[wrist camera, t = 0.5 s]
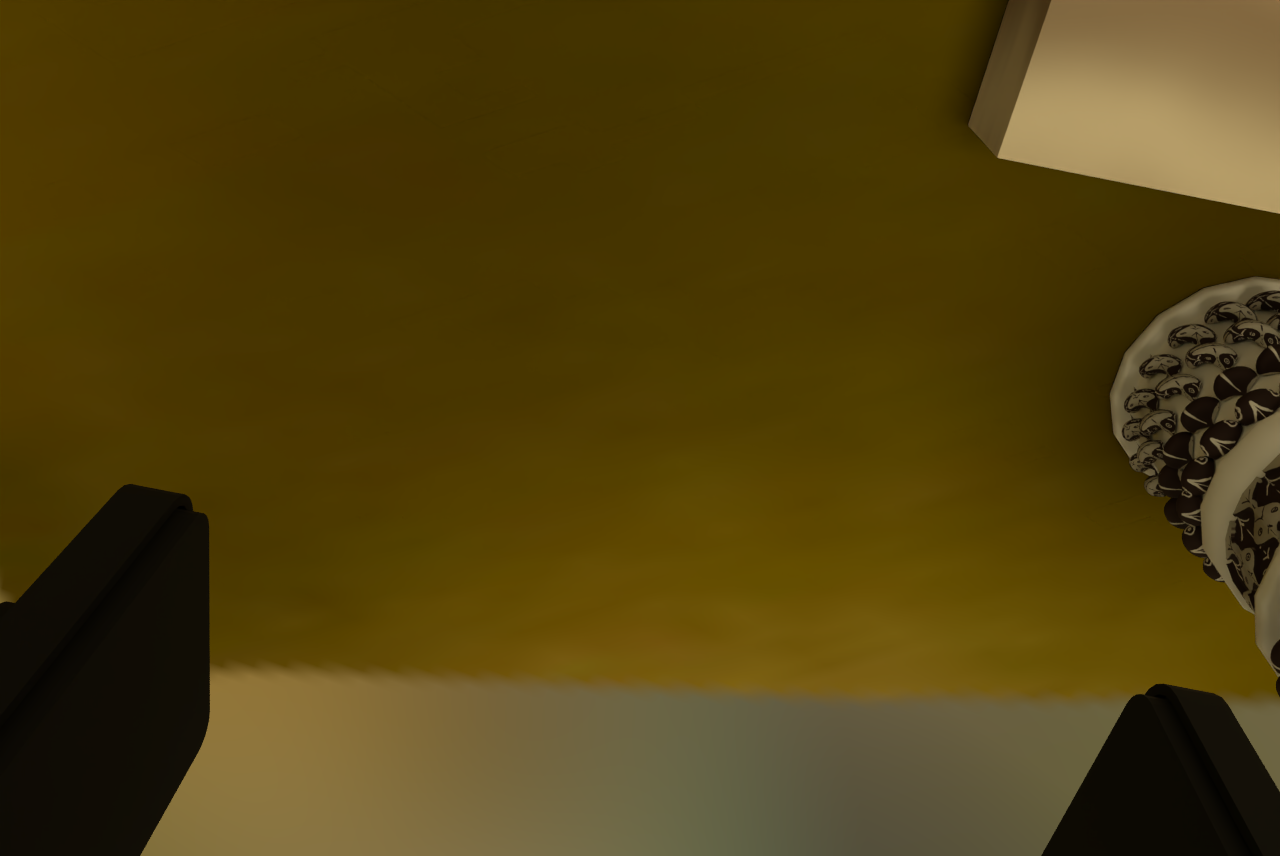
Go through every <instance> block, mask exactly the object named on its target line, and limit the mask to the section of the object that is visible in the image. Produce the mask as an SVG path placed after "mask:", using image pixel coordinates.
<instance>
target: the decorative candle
mask: <svg viewBox="0 0 1280 856" xmlns="http://www.w3.org/2000/svg"><path fill="white" fill-rule="evenodd" d="M1110 404H1111V415H1112V426H1113V434H1114V435H1115V437H1116V438H1117V440H1118V441H1119V443H1120V444H1121V446H1122V447H1123V449H1124V450H1125V452H1126V453H1127V455H1128V456H1129V458H1130V459H1129V464H1130V466H1131V468H1132V469H1133V470H1135V471H1137V472H1143V473H1145V474H1147V475H1149V476H1150V477H1148V478H1147V479H1146V480H1145V483H1144V487H1145V489H1146V491H1147V492H1148V493H1149V494H1151V495H1153V496H1166V495H1167V496H1168V497H1171V499H1170V500H1169V501H1168V502H1167V503H1166V505H1165V507H1164V513H1165V516H1166V518H1167V520H1168V521H1169V522H1170V523H1171V524H1172V525H1173V526H1175V527H1177V528H1181V529H1185V530H1184V531H1183V533H1182V541H1183V544H1184V546H1185V547H1186V549H1187V550H1188V551H1189V552H1190V553H1192V554H1193V555H1195V556H1198V557H1202V558H1205V559H1204V562H1203V570H1204V572H1205V573H1206V574H1207V575H1208V576H1209V577H1210V578H1212V579H1214V580H1216V581H1219V582H1225V583H1226V584H1227V585H1228V587H1229V588H1230V590H1231V591H1232V593H1233V594H1234V596H1235V597H1236V598H1237V600H1238V601H1239V603H1240V604H1241V606H1242V607H1243V608H1244V609H1246V610H1247V611H1249V612H1251V613H1253V614H1255V639H1256V644H1257V646H1258V647H1259V649H1260V650H1261V652H1262V653H1263V655H1264V656H1265V658H1266V659H1267V661H1268V662H1269V664H1270V665H1271V667H1272V668H1273V670H1274V671H1275V673H1276V674H1277V676H1278V677H1279V678H1278V679H1277V681H1276V690H1277V693H1278V695H1279V697H1280V279H1273V278H1265V277H1257V276H1254V277H1250V278H1245V279H1241V280H1236V281H1232V282H1227V283H1223V284H1219V285H1214V286H1210V287H1205V288H1202V289H1201V290H1199V291H1197V292H1196V293H1194V294H1192V295H1191V296H1189V297H1187V298H1186V299H1184V300H1182V301H1181V302H1179V303H1177V304H1176V305H1174V306H1172V307H1170V308H1169V309H1167V310H1165V311H1164V312H1162V313H1160V314H1159V315H1157V316H1156V317H1155V319H1154V320H1153V321H1152V322H1151V323H1150V324H1149V326H1148V327H1147V328H1146V329H1145V330H1144V331H1143V332H1142V334H1141V335H1140V336H1139V337H1138V338H1137V339H1136V340H1135V342H1134V343H1133V344H1132V345H1131V346H1130V347H1129V349H1128V350H1127V351H1126V352H1125V353H1124V356H1123V359H1122V362H1121V364H1120V367H1119V370H1118V373H1117V375H1116V378H1115V381H1114V384H1113V386H1112V389H1111V392H1110Z"/></svg>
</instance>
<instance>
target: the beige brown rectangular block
mask: <svg viewBox="0 0 1280 856" xmlns="http://www.w3.org/2000/svg"><path fill="white" fill-rule="evenodd" d="M968 126H969V127H970V128H971V129H972V130H973V132H974V133H975V134H976V135H977V136H978V137H979V138H980V139H981V140H982V141H983V143H984V144H985V145H986V146H987V147H988V148H989V149H990V150H991V151H992V152H993V154H994V155H995V156H996V157H997V158H1001V159H1006V160H1011V161H1016V162H1021V163H1026V164H1032V165H1037V166H1042V167H1047V168H1052V169H1057V170H1062V171H1067V172H1072V173H1077V174H1082V175H1087V176H1092V177H1097V178H1102V179H1107V180H1112V181H1117V182H1122V183H1127V184H1133V185H1138V186H1143V187H1148V188H1153V189H1158V190H1163V191H1168V192H1173V193H1178V194H1183V195H1188V196H1193V197H1198V198H1203V199H1208V200H1213V201H1218V202H1223V203H1228V204H1233V205H1239V206H1244V207H1249V208H1254V209H1259V210H1264V211H1269V212H1274V213H1279V214H1280V0H1009V1H1008V4H1007V7H1006V10H1005V13H1004V16H1003V20H1002V23H1001V26H1000V29H999V32H998V35H997V38H996V41H995V44H994V47H993V50H992V53H991V56H990V59H989V62H988V66H987V69H986V72H985V75H984V78H983V81H982V84H981V87H980V90H979V93H978V96H977V99H976V102H975V105H974V108H973V112H972V115H971V118H970V121H969V124H968Z"/></svg>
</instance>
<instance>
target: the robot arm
mask: <svg viewBox="0 0 1280 856" xmlns="http://www.w3.org/2000/svg"><path fill="white" fill-rule="evenodd" d="M209 713H210V651H209V522H208V518H207V516H206V515H205V514H204V513H199V512H194V511H193V507H192V502H191V500H190V498H189V497H188V496H187V495H185V494H179V493H174V492H169V491H164V490H159V489H154V488H148V487H143V486H138V485H133V484H128V485H124V486H123V487H122V488H120V489H119V490H118V491H117V492H116V493H115V494H114V495H113V496H112V497H111V498H110V500H109V501H108V502H107V503H106V504H105V505H104V506H103V507H102V508H101V509H100V511H99V512H98V513H97V514H96V515H95V516H94V517H93V518H92V519H91V520H90V522H89V523H88V524H87V525H86V526H85V527H84V528H83V529H82V530H81V531H80V533H79V534H78V535H77V536H76V537H75V538H74V539H73V540H72V541H71V542H70V544H69V545H68V546H67V547H66V548H65V549H64V550H63V551H62V552H61V553H60V555H59V556H58V557H57V558H56V559H55V560H54V561H53V562H52V563H51V564H50V566H49V567H48V568H47V569H46V570H45V571H44V572H43V573H42V574H41V575H40V576H39V578H38V579H37V580H36V581H35V582H34V583H33V584H32V585H31V586H30V587H29V589H28V590H27V591H26V592H25V593H24V594H23V595H22V596H21V597H20V598H19V600H18V601H17V602H16V603H11V602H3V603H0V856H140V855H141V853H142V851H143V850H144V848H145V846H146V844H147V842H148V841H149V839H150V837H151V835H152V834H153V832H154V830H155V828H156V826H157V825H158V823H159V821H160V819H161V818H162V816H163V814H164V812H165V810H166V809H167V807H168V805H169V803H170V802H171V800H172V798H173V796H174V794H175V793H176V791H177V789H178V787H179V785H180V784H181V782H182V780H183V778H184V776H185V775H186V773H187V771H188V769H189V767H190V766H191V764H192V762H193V761H194V759H195V757H196V755H197V753H198V751H199V749H200V747H201V745H202V743H203V740H204V737H205V734H206V731H207V726H208V722H209ZM1042 856H1280V792H1279V790H1278V788H1277V787H1276V785H1275V783H1274V782H1273V780H1272V778H1271V777H1270V775H1269V773H1268V771H1267V770H1266V769H1265V766H1264V765H1263V763H1262V762H1261V760H1260V758H1259V756H1258V755H1257V753H1256V751H1255V750H1254V748H1253V746H1252V745H1251V743H1250V741H1249V739H1248V738H1247V736H1246V734H1245V733H1244V731H1243V729H1242V728H1241V726H1240V724H1239V723H1238V721H1237V719H1236V718H1235V716H1234V714H1233V713H1232V711H1231V709H1230V707H1229V706H1228V704H1227V703H1226V702H1225V701H1224V700H1223V698H1222V697H1220V696H1218V695H1216V694H1214V693H1208V692H1203V691H1198V690H1193V689H1188V688H1183V687H1177V686H1172V685H1167V684H1156V685H1154V686H1153V687H1151V688H1150V689H1149V690H1148V691H1147V692H1146V694H1145V695H1143V694H1138V695H1135V696H1133V697H1132V698H1131V699H1130V700H1129V701H1128V703H1127V704H1126V706H1125V708H1124V710H1123V711H1122V713H1121V715H1120V717H1119V719H1118V720H1117V722H1116V724H1115V726H1114V727H1113V729H1112V731H1111V733H1110V735H1109V736H1108V739H1107V740H1106V742H1105V744H1104V745H1103V747H1102V749H1101V751H1100V752H1099V754H1098V756H1097V758H1096V759H1095V762H1094V763H1093V765H1092V767H1091V769H1090V770H1089V772H1088V774H1087V776H1086V777H1085V779H1084V781H1083V783H1082V784H1081V786H1080V788H1079V790H1078V791H1077V793H1076V795H1075V797H1074V799H1073V800H1072V802H1071V804H1070V806H1069V807H1068V809H1067V811H1066V813H1065V815H1064V816H1063V818H1062V820H1061V822H1060V823H1059V825H1058V827H1057V829H1056V831H1055V832H1054V834H1053V836H1052V838H1051V840H1050V841H1049V843H1048V845H1047V847H1046V848H1045V850H1044V852H1043V854H1042Z"/></svg>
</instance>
